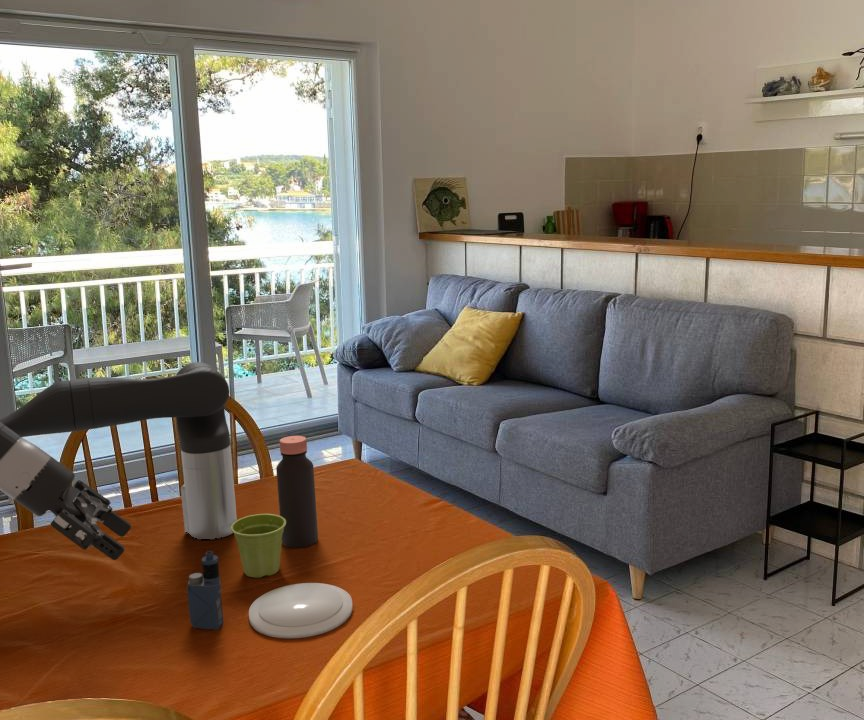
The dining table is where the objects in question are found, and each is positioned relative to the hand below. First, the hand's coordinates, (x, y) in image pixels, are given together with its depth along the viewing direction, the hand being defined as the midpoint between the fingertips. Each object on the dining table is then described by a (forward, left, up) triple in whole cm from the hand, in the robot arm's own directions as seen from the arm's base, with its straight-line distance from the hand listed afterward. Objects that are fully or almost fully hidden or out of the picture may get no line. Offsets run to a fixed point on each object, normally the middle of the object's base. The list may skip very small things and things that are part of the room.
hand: (124, 542), depth 125 cm
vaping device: (+8, +7, -15) cm, 19 cm away
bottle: (+3, +39, -15) cm, 42 cm away
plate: (+19, +16, -15) cm, 29 cm away
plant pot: (+4, +26, -15) cm, 30 cm away
